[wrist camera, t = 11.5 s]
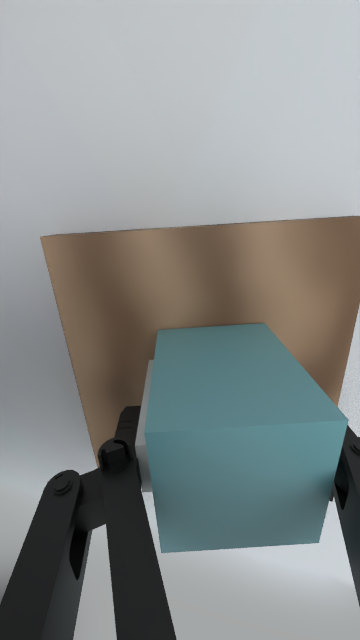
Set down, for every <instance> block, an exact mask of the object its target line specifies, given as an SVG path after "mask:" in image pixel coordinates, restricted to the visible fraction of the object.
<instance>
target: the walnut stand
mask: <svg viewBox="0 0 360 640" xmlns="http://www.w3.org/2000/svg"><path fill="white" fill-rule="evenodd" d="M40 239H41V243H42V247H43V251H44V255H45V259H46V263H47V267H48V271H49V275H50V279H51V283H52V287H53V291H54V295H55V299H56V303H57V307H58V311H59V315H60V319H61V323H62V327H63V331H64V335H65V339H66V343H67V347H68V351H69V355H70V359H71V363H72V367H73V371H74V375H75V379H76V383H77V387H78V391H79V395H80V399H81V403H82V407H83V411H84V415H85V419H86V423H87V427H88V431H89V435H90V439H91V443H92V447H93V451H94V455H95V459H96V463H97V467H98V468H99V467H100V465H99V461H98V456H97V455H98V450H99V448H100V447H101V445H102V444H103V443H105V442H106V441H107V440H109V439H111V438H114V436H115V432H116V430H117V425H118V421H119V417H120V413H121V412H122V411H123V410H124V408H125V407H126V406H141V405H142V399H143V393H144V387H145V381H146V375H147V369H148V363H149V360H154V356H155V348H156V341H157V333H158V330H163V329H179V328H195V327H211V326H227V325H244V324H260V323H265V324H266V325H267V326H268V327H269V329H270V330H271V331H272V332H273V333H274V334H275V335H276V337H277V338H278V339H279V340H280V341H281V342H282V344H283V345H284V346H285V347H286V348H287V349H288V351H289V352H290V353H291V354H292V355H293V356H294V357H295V359H296V360H297V361H298V362H299V363H300V364H301V366H302V367H303V368H304V369H305V370H306V371H307V373H308V374H309V375H310V376H311V377H312V378H313V379H314V381H315V382H316V383H317V384H318V385H319V386H320V388H321V389H322V390H323V391H324V392H325V393H326V395H327V396H328V397H329V398H330V399H331V400H332V402H333V403H334V404H335V405H336V406H338V402H339V397H340V392H341V388H342V383H343V378H344V374H345V369H346V364H347V360H348V355H349V350H350V346H351V341H352V337H353V332H354V327H355V323H356V318H357V313H358V309H359V304H360V216H345V217H329V218H313V219H297V220H281V221H265V222H249V223H233V224H217V225H201V226H185V227H169V228H153V229H136V230H120V231H104V232H88V233H72V234H56V235H50V236H43V237H40Z"/></svg>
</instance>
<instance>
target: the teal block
mask: <svg viewBox="0 0 360 640" xmlns="http://www.w3.org/2000/svg"><path fill="white" fill-rule="evenodd" d="M347 424H348V419H347V418H346V417H345V415H344V414H343V413H342V412H341V411H340V410H339V408H338V407H337V406H336V405H335V404H334V403H333V402H332V400H331V399H330V398H329V397H328V396H327V395H326V393H325V392H324V391H323V390H322V389H321V388H320V386H319V385H318V384H317V383H316V382H315V381H314V379H313V378H312V377H311V376H310V375H309V374H308V373H307V371H306V370H305V369H304V368H303V367H302V366H301V364H300V363H299V362H298V361H297V360H296V359H295V357H294V356H293V355H292V354H291V353H290V352H289V351H288V349H287V348H286V347H285V346H284V345H283V344H282V342H281V341H280V340H279V339H278V338H277V337H276V335H275V334H274V333H273V332H272V331H271V330H270V329H269V327H268V326H267V325H266V324H265V323H260V324H244V325H227V326H211V327H195V328H179V329H163V330H158V333H157V341H156V348H155V356H154V363H153V371H152V378H151V386H150V394H149V401H148V409H147V416H146V424H145V431H144V434H145V441H146V448H147V455H148V462H149V469H150V476H151V483H152V491H153V498H154V505H155V512H156V519H157V526H158V533H159V540H160V547H161V553H169V552H185V551H201V550H216V549H232V548H247V547H263V546H278V545H294V544H309V543H319V540H320V535H321V531H322V527H323V523H324V519H325V515H326V511H327V507H328V502H329V498H330V494H331V490H332V486H333V482H334V478H335V474H336V469H337V465H338V461H339V457H340V453H341V449H342V445H343V441H344V436H345V432H346V428H347Z"/></svg>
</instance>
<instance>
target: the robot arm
mask: <svg viewBox="0 0 360 640" xmlns="http://www.w3.org/2000/svg"><path fill="white" fill-rule="evenodd" d="M153 363H154V360H149V363H148V369H147V375H146V381H145V387H144V393H143V399H142V405H141V406H126V407H125V408H124V410H123V411H122V412H121V413H120V417H119V421H118V425H117V430H116V432H115V436H114V438H111V439H109V440H107V441H106V442H105V443H103V444H102V445H101V447H100V448H99V450H98V455H97V456H98V461H99V465H100V467H99V468H97V469H95V470H93V471H91V472H88V473H85V474H83V475H79V473H78V472H76V471H74V470H66V471H62V472H60V473H58V474H57V475H55V476H54V477H53V478H52V479H51V480H50V481H49V482H48V483H47V485H46V487H45V488H44V491H43V494H42V496H41V499H40V501H39V504H38V507H37V510H36V512H35V515H34V517H33V520H32V523H31V525H30V528H29V531H28V533H27V536H26V538H25V541H24V543H23V546H22V549H21V552H20V554H19V557H18V559H17V562H16V564H15V567H14V570H13V572H12V575H11V578H10V580H9V583H8V585H7V588H6V591H5V593H4V596H3V599H2V601H1V604H0V640H73V636H74V630H75V625H76V618H77V613H78V607H79V602H80V596H81V591H82V585H83V579H84V574H85V568H86V562H87V557H88V551H89V545H90V539H91V534H92V530H93V529H95V528H97V527H100V526H102V525H104V524H106V528H107V539H108V549H109V560H110V570H111V581H112V592H113V602H114V613H115V624H116V633H117V640H176V635H175V632H174V627H173V623H172V619H171V614H170V610H169V606H168V602H167V598H166V593H165V589H164V585H163V581H162V576H161V572H160V568H159V564H158V560H157V555H156V551H155V547H154V543H153V538H152V534H151V530H150V526H149V521H148V517H147V513H146V509H145V505H144V500H143V496H142V492H153V491H152V483H151V476H150V469H149V462H148V455H147V448H146V441H145V434H144V431H145V424H146V416H147V409H148V401H149V394H150V386H151V378H152V371H153ZM141 486H142V492H141ZM333 497H334V498H335V502H336V507H337V511H338V515H339V520H340V524H341V528H342V533H343V537H344V541H345V545H346V550H347V554H348V558H349V563H350V567H351V571H352V576H353V580H354V584H355V589H356V592H357V597H358V601H359V606H360V438H359V437H357V436H356V435H355V433H354V432H353V431H352V430H351V429H350V427H349V426H348V425H347V428H346V432H345V436H344V441H343V445H342V449H341V453H340V457H339V461H338V465H337V469H336V474H335V478H334V482H333V486H332V490H331V494H330V498H329V501H333Z"/></svg>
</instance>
